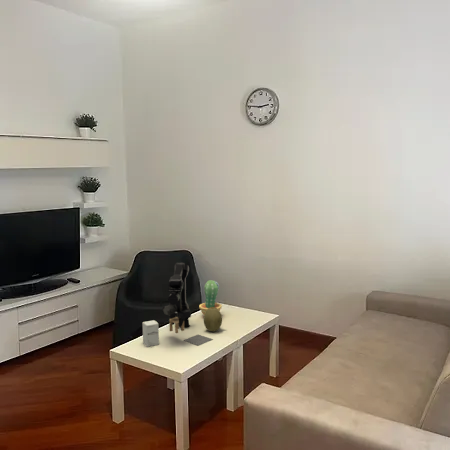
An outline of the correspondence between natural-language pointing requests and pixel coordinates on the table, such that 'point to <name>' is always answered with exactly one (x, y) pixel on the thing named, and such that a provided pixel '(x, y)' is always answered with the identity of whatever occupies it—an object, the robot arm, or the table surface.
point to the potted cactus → (210, 296)
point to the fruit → (212, 319)
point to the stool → (176, 321)
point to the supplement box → (150, 333)
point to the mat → (198, 340)
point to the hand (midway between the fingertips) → (176, 325)
